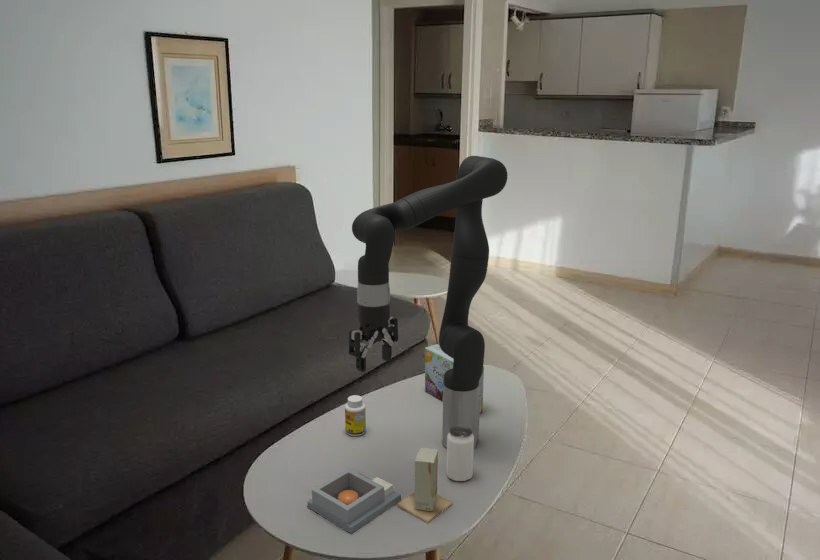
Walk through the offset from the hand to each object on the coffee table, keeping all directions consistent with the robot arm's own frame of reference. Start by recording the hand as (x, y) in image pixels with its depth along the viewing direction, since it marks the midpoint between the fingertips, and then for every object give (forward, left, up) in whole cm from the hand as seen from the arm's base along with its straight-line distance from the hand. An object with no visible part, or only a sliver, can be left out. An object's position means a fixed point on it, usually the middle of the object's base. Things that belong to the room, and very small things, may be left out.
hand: (374, 365), depth 157 cm
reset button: (+15, +6, -28) cm, 32 cm away
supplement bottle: (-10, -17, -28) cm, 35 cm away
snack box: (-42, -8, -28) cm, 51 cm away
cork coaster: (+3, +18, -28) cm, 34 cm away
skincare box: (+3, +18, -28) cm, 33 cm away
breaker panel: (+13, +6, -28) cm, 32 cm away
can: (-12, +17, -28) cm, 35 cm away
